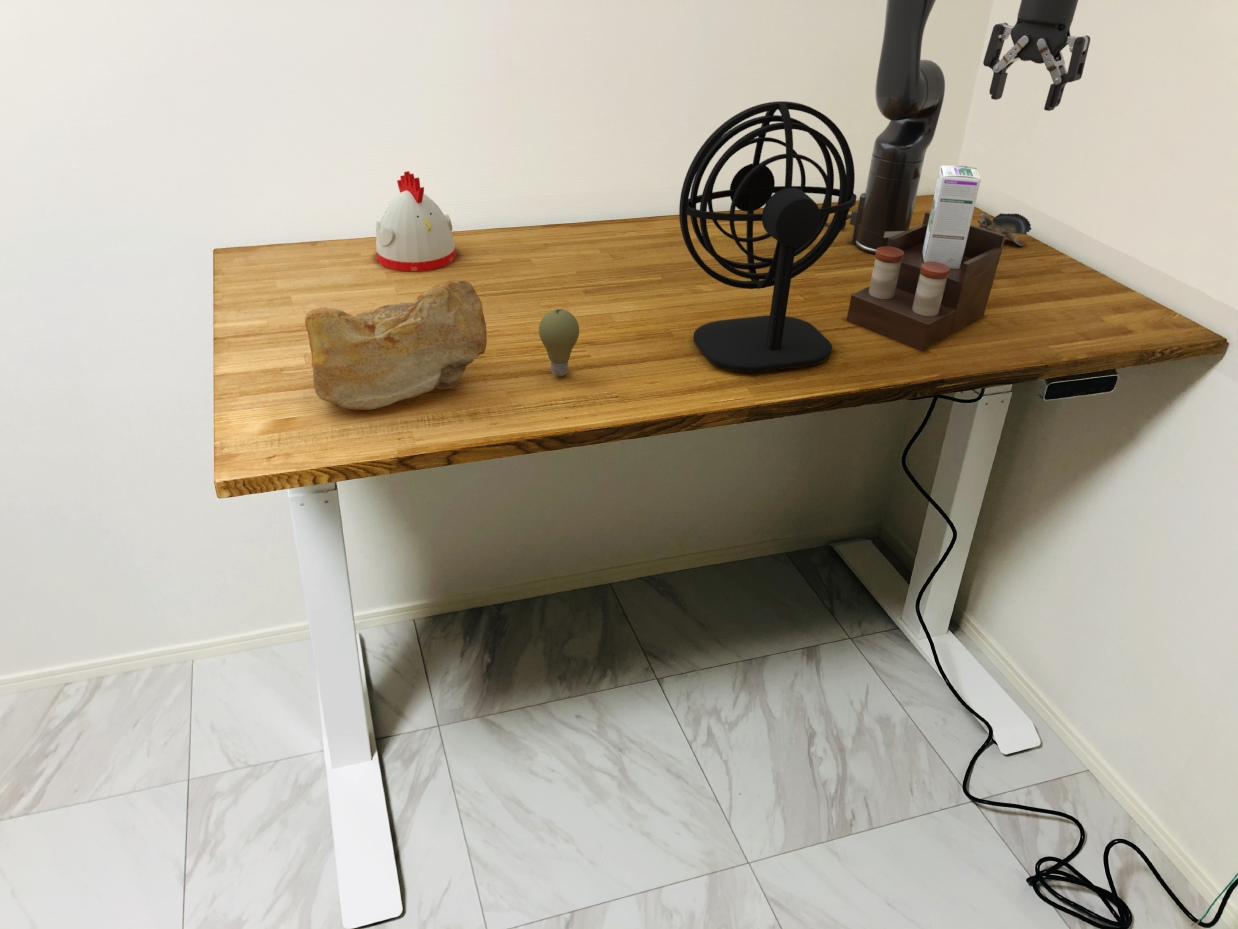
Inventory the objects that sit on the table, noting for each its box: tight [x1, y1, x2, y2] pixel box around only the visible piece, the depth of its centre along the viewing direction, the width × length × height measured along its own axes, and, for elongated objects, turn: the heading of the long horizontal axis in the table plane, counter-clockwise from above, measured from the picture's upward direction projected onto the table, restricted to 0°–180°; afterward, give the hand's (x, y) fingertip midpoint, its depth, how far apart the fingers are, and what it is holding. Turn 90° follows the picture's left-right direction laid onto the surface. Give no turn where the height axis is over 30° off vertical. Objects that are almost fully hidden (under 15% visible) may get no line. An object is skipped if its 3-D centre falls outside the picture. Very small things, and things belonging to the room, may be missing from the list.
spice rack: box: [846, 211, 1007, 351], centre depth 148 cm, size 19×14×14 cm
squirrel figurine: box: [977, 213, 1032, 247], centre depth 180 cm, size 8×7×9 cm
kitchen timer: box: [375, 170, 457, 272], centre depth 163 cm, size 14×14×15 cm
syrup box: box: [922, 164, 981, 269], centre depth 145 cm, size 6×6×14 cm
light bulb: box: [538, 308, 580, 378], centre depth 130 cm, size 6×6×10 cm
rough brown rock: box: [304, 279, 488, 411], centre depth 126 cm, size 23×17×15 cm
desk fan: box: [678, 100, 857, 373], centre depth 132 cm, size 27×18×35 cm, turn 107°
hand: (1021, 104), depth 141 cm, fingers open, 8 cm apart
